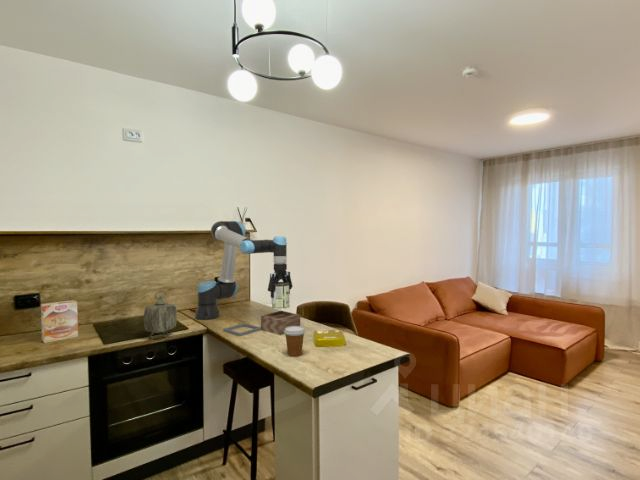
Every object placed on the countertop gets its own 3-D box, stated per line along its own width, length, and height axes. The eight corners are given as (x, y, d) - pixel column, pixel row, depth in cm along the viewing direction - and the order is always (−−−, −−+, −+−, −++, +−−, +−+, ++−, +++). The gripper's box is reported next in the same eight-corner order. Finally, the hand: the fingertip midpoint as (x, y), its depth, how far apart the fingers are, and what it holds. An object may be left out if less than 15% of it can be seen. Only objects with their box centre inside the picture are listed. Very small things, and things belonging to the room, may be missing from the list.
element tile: (315, 348, 172) (315, 338, 172) (313, 338, 187) (313, 329, 187) (345, 347, 173) (345, 337, 173) (341, 337, 188) (340, 328, 188)
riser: (261, 329, 203) (260, 315, 202) (281, 324, 215) (281, 310, 214) (280, 335, 192) (279, 320, 192) (300, 328, 204) (300, 314, 204)
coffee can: (273, 305, 209) (273, 281, 208) (291, 305, 208) (290, 281, 207) (269, 309, 198) (269, 284, 198) (287, 309, 197) (287, 284, 197)
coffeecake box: (44, 343, 181) (43, 305, 180) (41, 340, 186) (40, 303, 185) (78, 336, 192) (77, 301, 191) (75, 334, 197) (74, 299, 196)
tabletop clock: (167, 332, 199) (166, 288, 198) (178, 334, 194) (177, 289, 193) (144, 339, 186) (143, 292, 185) (155, 342, 182) (154, 294, 181)
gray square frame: (223, 331, 200) (223, 328, 200) (244, 325, 212) (244, 323, 212) (239, 336, 190) (239, 333, 190) (260, 330, 202) (260, 327, 202)
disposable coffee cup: (284, 351, 167) (284, 326, 166) (304, 350, 168) (304, 325, 167) (284, 358, 157) (284, 331, 157) (305, 357, 158) (305, 331, 158)
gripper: (269, 265, 191) (270, 305, 192) (298, 262, 208) (298, 299, 209) (260, 264, 196) (261, 304, 197) (289, 261, 213) (290, 298, 214)
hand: (280, 301), depth 203 cm, fingers closed on coffee can, 10 cm apart
